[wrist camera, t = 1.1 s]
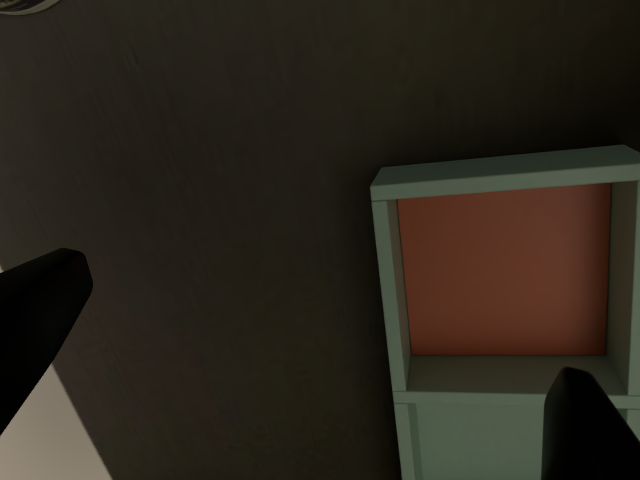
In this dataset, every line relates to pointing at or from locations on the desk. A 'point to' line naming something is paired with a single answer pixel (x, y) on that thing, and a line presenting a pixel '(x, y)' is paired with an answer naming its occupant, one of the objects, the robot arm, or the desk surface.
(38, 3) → the coffee can
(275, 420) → the desk surface
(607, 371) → the divided box
